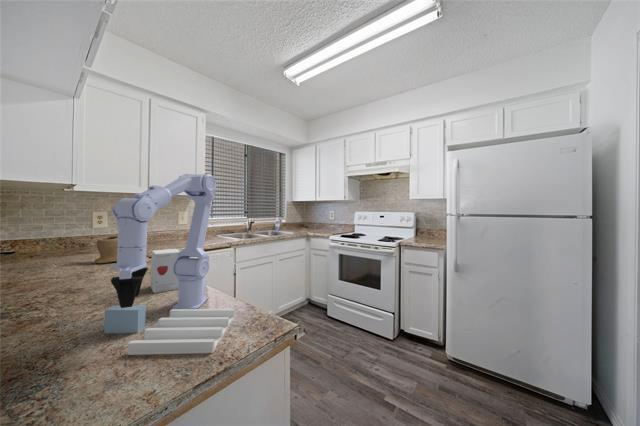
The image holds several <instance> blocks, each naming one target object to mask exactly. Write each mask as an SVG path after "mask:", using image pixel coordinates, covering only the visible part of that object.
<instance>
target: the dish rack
mask: <svg viewBox="0 0 640 426" xmlns="http://www.w3.org/2000/svg"><path fill="white" fill-rule="evenodd" d="M235 311H236V310H235V308H197V309H170V310H169V317H160V318H159V319H158V320H157V327H147V328H146V329H144V338H143V339H141V340H140V339H139V340H136V339H135V340H134V339H133V340H130V341H129V342H128V343H127V352H126V353H127V354H126V355H127V356H131V355H132V356H135V355H140V356H141V355H142V356H145V355H181V354H182V355H183V354H185V355H186V354H191V355H192V354H213V353H214V352H215V350H216V348H217V347H218V345H219V343H220V341H221V340H222V338H223V337H224V335H225V334H226V332H227V330H228V329H229V327H230V326H231V324H232V322H233V321H234V318H235V313H236V312H235Z"/></svg>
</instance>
